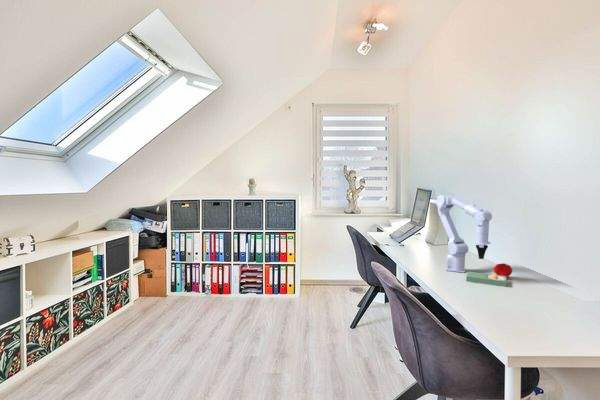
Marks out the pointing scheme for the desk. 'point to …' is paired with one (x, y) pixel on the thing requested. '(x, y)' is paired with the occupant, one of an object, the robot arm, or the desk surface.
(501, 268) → the gemstone
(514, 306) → the desk surface
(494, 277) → the ball
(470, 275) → the green flat board
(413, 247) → the desk surface
